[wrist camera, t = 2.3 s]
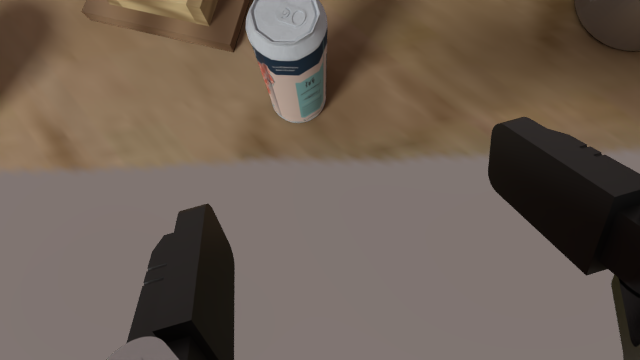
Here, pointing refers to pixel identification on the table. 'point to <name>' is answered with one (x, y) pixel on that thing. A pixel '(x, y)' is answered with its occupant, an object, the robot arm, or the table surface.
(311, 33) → the beer can
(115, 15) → the caddy
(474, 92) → the table surface
